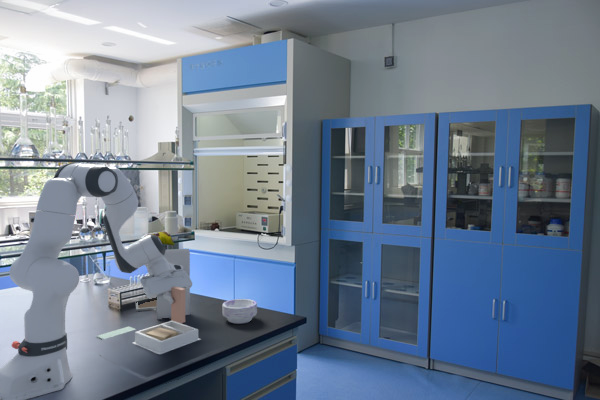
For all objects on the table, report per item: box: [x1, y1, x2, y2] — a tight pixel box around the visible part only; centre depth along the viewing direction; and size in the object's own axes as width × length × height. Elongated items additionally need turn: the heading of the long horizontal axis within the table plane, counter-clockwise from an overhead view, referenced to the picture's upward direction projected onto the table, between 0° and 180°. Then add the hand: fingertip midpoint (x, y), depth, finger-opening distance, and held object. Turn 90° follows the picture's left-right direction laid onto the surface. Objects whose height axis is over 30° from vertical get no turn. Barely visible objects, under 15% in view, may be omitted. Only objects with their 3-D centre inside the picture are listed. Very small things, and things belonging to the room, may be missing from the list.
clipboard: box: [135, 300, 157, 312], centre depth 227 cm, size 19×2×30 cm
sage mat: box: [96, 326, 137, 340], centre depth 181 cm, size 14×14×1 cm
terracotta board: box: [170, 286, 186, 324], centre depth 178 cm, size 2×6×13 cm, turn 53°
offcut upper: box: [146, 328, 177, 341], centre depth 172 cm, size 7×9×2 cm
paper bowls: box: [221, 298, 258, 325], centre depth 202 cm, size 15×15×8 cm
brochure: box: [156, 248, 191, 320], centre depth 205 cm, size 14×6×30 cm, turn 108°
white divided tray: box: [132, 320, 201, 356], centre depth 174 cm, size 19×17×5 cm
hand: (176, 301), depth 178 cm, fingers closed on terracotta board, 2 cm apart
